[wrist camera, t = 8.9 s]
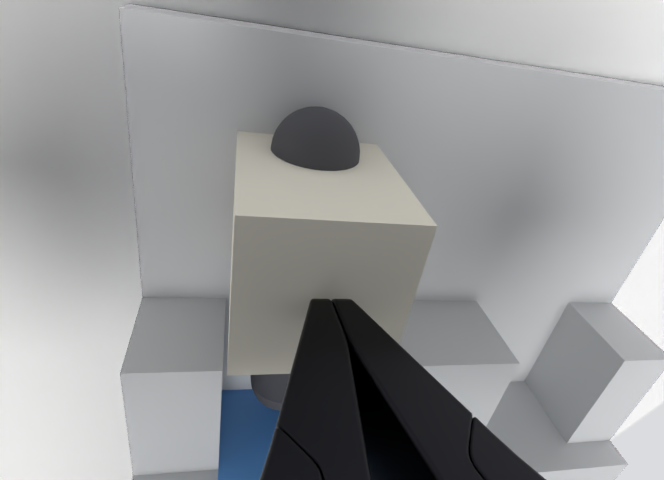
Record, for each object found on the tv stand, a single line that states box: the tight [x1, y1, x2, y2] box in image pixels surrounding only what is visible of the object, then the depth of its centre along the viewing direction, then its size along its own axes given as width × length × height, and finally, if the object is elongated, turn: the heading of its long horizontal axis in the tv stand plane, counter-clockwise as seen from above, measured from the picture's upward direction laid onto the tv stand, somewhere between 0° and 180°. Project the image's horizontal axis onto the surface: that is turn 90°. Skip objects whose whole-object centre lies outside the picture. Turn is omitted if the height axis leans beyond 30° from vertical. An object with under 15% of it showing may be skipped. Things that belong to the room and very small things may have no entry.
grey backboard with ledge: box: [119, 4, 664, 480], centre depth 13 cm, size 14×18×6 cm
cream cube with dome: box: [227, 106, 437, 411], centre depth 12 cm, size 10×4×4 cm, turn 171°
